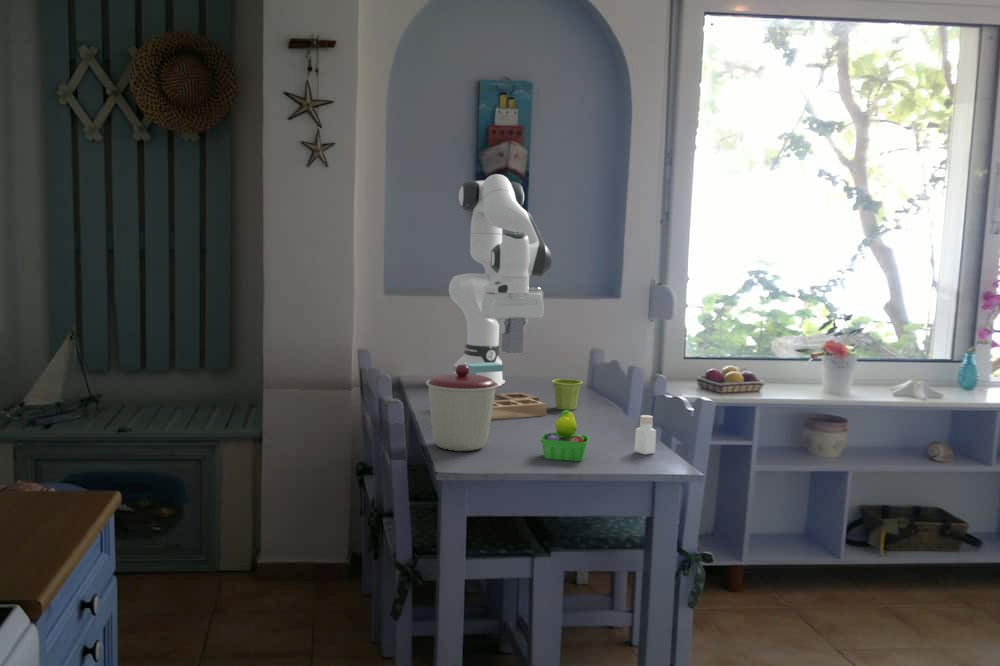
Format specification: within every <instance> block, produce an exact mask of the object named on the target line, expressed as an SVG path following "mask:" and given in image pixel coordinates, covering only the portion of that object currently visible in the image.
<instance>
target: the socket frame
mask: <svg viewBox="0 0 1000 666" xmlns="http://www.w3.org/2000/svg"><path fill="white" fill-rule="evenodd" d="M524 398H530V399H533V400H536V401H539V402H540V398H539V397H537V396H534V395H532V394H528V393H526V392H521V391H520V392H508V393H507V392H505V393H495V395H494V401H495V400H509V399H524Z"/></svg>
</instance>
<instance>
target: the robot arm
mask: <svg viewBox="0 0 1000 666" xmlns="http://www.w3.org/2000/svg"><path fill="white" fill-rule="evenodd" d="M458 200H459V203H460V207H461V208H462V210H463V211H466V212H468V213H469V212H470V213H472V216H471V223H470V244H469V245H470V246H469V247H470V248H469V249H470V250H469V252H470V253H469V254H470V256H471V258H472V259H473V260H474V261H475V262H477V263H478V264H480V265H482V266H483V268H484V271H485V273H470V272H469V273H462V274H457V275H455V276H453V277H452V279H451V280H450V282H449V285H448V294H449V297H450V300H452V301H453V302H454V303H455V304H456V305H458V307H459V308H460V309H461V311H462V312H463V314H464V316H465V320H466V328H467V330H466V331H467V337H466V338H467V341H466V342H467V343H466V344H464V345H463V346H464V347H463V349H464V351H463V353H464V354H463V355H462V356H461V357H460V358H459V359H458V360H457V361H456V362H455V363H454V365H453V366H452V368H453V370H452V371H453V374H456V367H457V366H458V365H464V364H475V363H498V364H502V365H503V362H502V359H501V358H500V357H499V356H500V354H501V353H500V352H501V347H500V344H499V343H500V340H499V339H500V334H501V335H502V334H506V333H508V331H507V330H508V328H506V327H505V325H504V323H503V322H505V318H519V319H524V328H523V334H525V333H526V327H527V325H528V323H529V319H534V318H535V319H537V318H538V319H540V318H542V317H543V316H544V315H545V314H544V313H545V306H544V304H545V303H544V291H543V290H542V288H541V287H539V286H534V287H533V286H532V287H531V286H530V276H531V277H538V278H541V277H542V276H545V275H546V274H548V272H549V271H550V270H551V267H552V254H551V251H550V249H549V247H548V246H547V245H546V243H545V242H544V239H543V237H542V235H541V233H540V231H539V228H538V226H537V225H536V222H535V220H534V218H533V216H532V215H531V213H530V212H529V211H527V210H526V209H524V207H523V205H524V201H525V192H524V188H523V186H522V185H521V183H519V182H516V181H510V180H509V178H508V177H507V176H505V175H503V174H499V173H498V174H497V173H494V174H491V175H489V176H487V178H485V179H484V180H467V181H464V182H463V183H462V184H461V186H460V189H459V191H458ZM503 230H507V231H508V232H505V233H503ZM476 375H481V376H485V377H488V378H491V379H492V380H493V381H494V382H496V383H498V387H501V386H502V385H503V384H505V383H506V380H505V379H503V371H499V372H480V373H476Z"/></svg>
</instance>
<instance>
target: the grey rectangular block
mask: <svg viewBox="0 0 1000 666" xmlns="http://www.w3.org/2000/svg"><path fill="white" fill-rule="evenodd" d="M503 323H504V325H505V327H506V328H508V330H507V331H508V333H506V334H502V333H501V352H503V353H506V354H507V353H508V354H518V353H519V354H523V351H524V333H523V328H524V319H521V318H505V322H503Z"/></svg>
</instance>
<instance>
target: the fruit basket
mask: <svg viewBox="0 0 1000 666" xmlns="http://www.w3.org/2000/svg"><path fill="white" fill-rule="evenodd" d="M554 424H555V428H556V432H552V433H551V432H547V433H543V434H542V436H541V437H540V443H541V444H542V449H543V455H544V459H546V460H556V461H557V460H559V461H561V460H562V461H574V462H582V461H583V458H584V455H585V452H586V448H587V445H588V443H589V440H590V436H588V435H581V434H576V431H577V427H578V426H577V422H576V417H575V415H574V413H572V412H571V410H567V409H564V410H561V413H560V415H559V416H558V418H557V419H556V422H555V423H554Z"/></svg>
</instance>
